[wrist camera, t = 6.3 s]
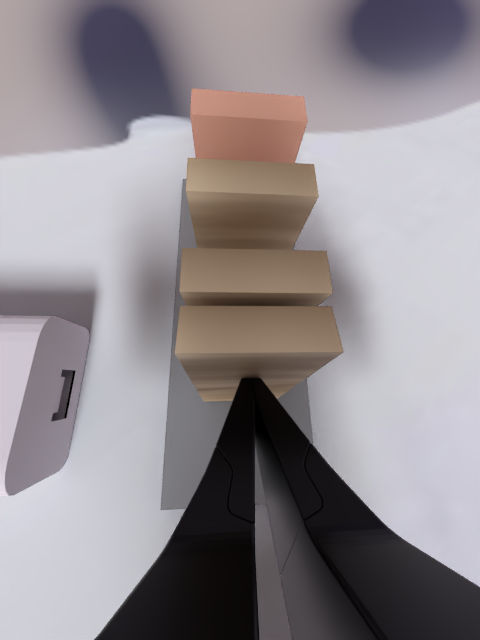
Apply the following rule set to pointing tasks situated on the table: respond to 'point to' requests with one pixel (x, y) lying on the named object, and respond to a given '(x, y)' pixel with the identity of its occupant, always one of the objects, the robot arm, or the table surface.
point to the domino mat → (203, 410)
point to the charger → (37, 396)
